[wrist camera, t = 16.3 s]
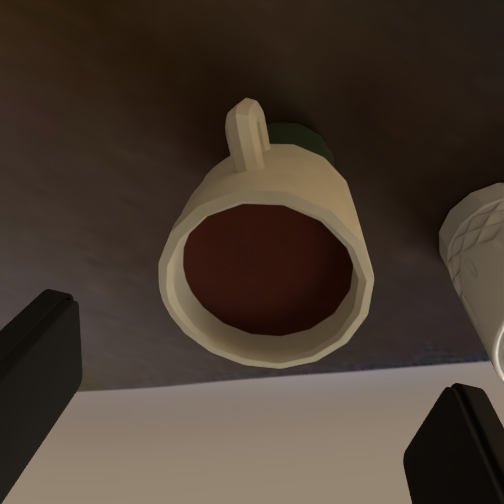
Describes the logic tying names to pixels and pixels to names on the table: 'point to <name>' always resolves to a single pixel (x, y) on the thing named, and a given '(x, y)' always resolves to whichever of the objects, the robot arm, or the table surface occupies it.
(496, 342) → the white cup
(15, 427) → the robot arm
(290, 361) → the character mug
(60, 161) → the table surface
